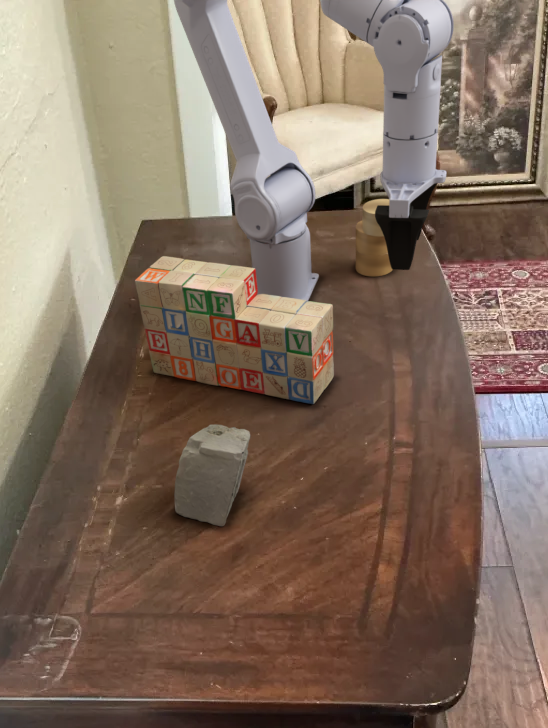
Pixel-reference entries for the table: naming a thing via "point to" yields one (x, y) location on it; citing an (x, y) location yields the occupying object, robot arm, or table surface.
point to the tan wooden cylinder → (372, 217)
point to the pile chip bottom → (372, 264)
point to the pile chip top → (369, 242)
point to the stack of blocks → (234, 330)
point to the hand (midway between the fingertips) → (405, 253)
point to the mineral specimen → (211, 473)
